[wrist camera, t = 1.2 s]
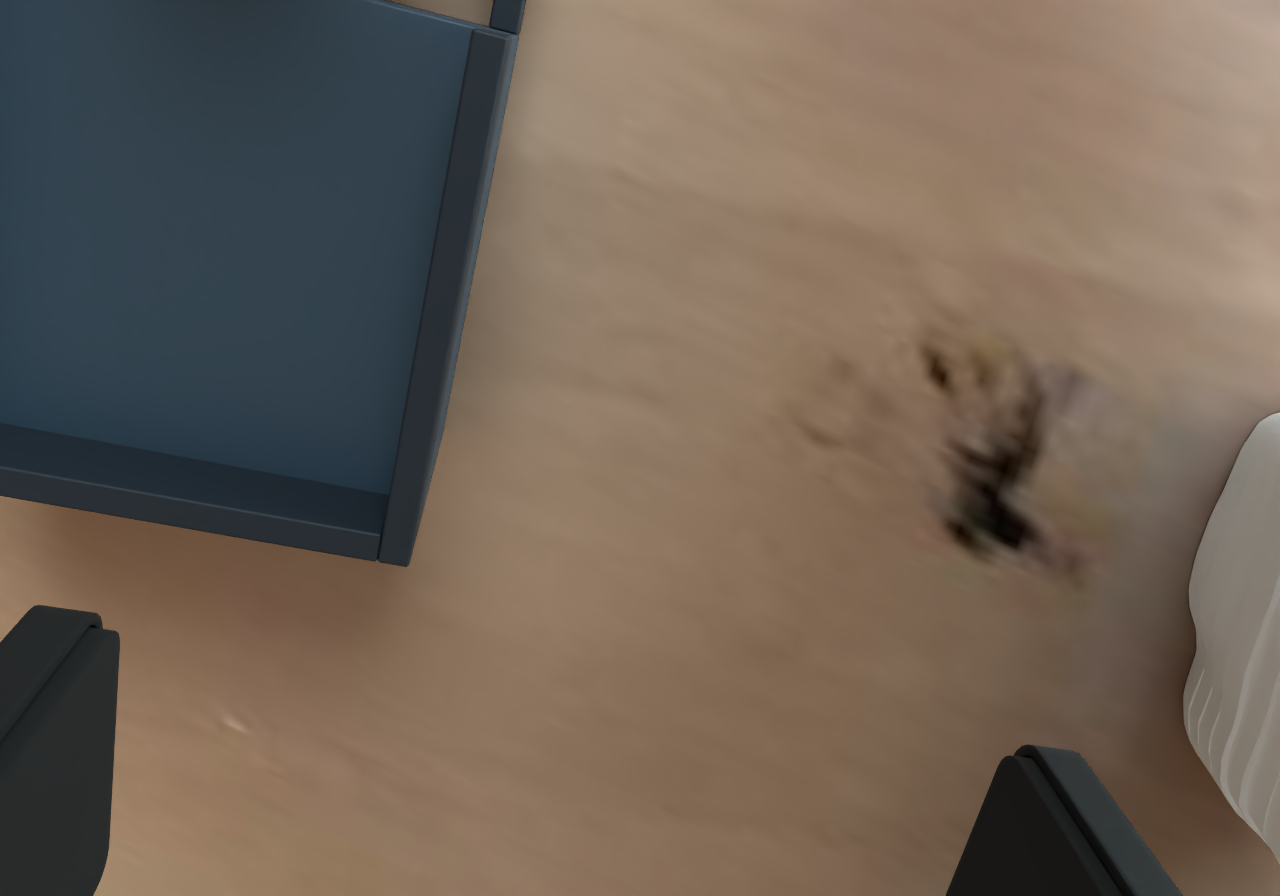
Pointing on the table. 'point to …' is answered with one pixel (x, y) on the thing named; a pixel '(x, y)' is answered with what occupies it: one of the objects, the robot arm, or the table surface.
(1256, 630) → the paper stack
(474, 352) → the table surface
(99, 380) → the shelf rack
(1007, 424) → the table surface
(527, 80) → the table surface
